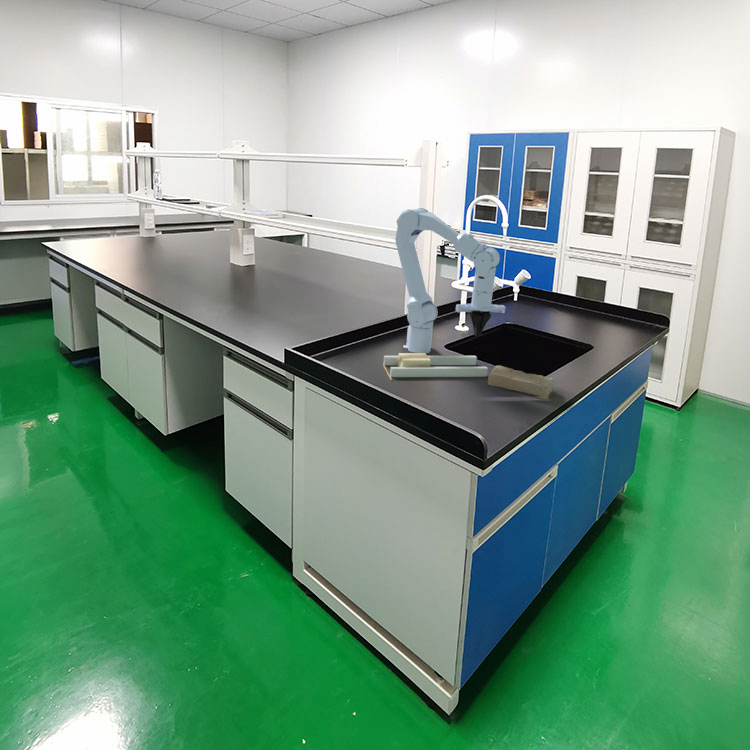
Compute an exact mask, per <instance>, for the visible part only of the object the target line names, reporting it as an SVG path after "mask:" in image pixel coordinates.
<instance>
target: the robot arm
mask: <svg viewBox="0 0 750 750" xmlns="http://www.w3.org/2000/svg"><path fill="white" fill-rule="evenodd" d="M396 224H397V229H396V235H395V239H394V240H395V245H396V246H395V247H396V248H397V254H398V257H399V260H400V264H401V268H402V269H401V270H402V272H403V276H404V281H405V284H406V288H407V292H408V297H409V298H408V301H407V303H406V307H407V313H406V314H407V315H406V317H407V318H406V319H407V322H408V324H409V325H408V326H407V330H406V331H407V332H406V333H407V334H406V344H404V345H402V346H403V348H404V349H407V350H408V351H409V353H425V354H429V353H431V351H432V350H431V349H432V340H433V339H432V338H433V333H434V331H433V329H434V321H435V320H436V319H437V316H438V314H439V312H438V307H437V305H436V304H435V303H434V301H433V298H432V296H431V295H430V294H429V293H428V292H427V288H426V285H425V282H424V277H423V273H422V268H421V265H420V261H419V257H418V254H417V249H416V245H415V242H416V240H417V239H418V237H419V236H420V234H421V233H422V232H424V231H432V232H433V233H435V234H437V235H438V236H440V237H441V238H442V239H443V238H444V239H445V240H446V241H448V242H449V243H451V244H453V246H454V247H453V248H454V251H456V252H457V253H459V254H460V255H462V257H464V258H466V259H467V260H469V261H470V262H472V264H473V266H474V268H475V270H474V271H475V272H474V278H473V287H472V295H471V303H463V304H462V303H461V304H459V303H458V304H456V305H455V312H457V313H469V316H470V319H471V322H472V327H473V335H474V337H478V338H479V337H481V336H482V333H483V331H484V328H485V327H486V325H487V323H488V322H489V321H490V319H491V316H492V314H491V313H501V314H505V312H506V306H505V305H504V304H493V303H492V301H493V300H492V299H493V292H494V287H495V286H494V285H495V278H496V271H497V266H498V265H499V263H500V261H501V257H500V253H499V252H498V250H496V248H495V247H488V245H487V243H482V242H481V241H479V240H477V239H476V238H475V235H474V234H473V233H467V232H465V233H462V234H460V233H459V232H458V231H457V230H455V229H454V228H453V227H451V226H450V225H449V224H447V223H446V222H444V220H442V219H441V218H439V217H438V216H436V215H435V213H434V212H432V211H429V210H428V209H426V208H424V207H420V208H414V209H413V208H412V209H410V208H409V209H405V210H403V211H402V212H401V213H400V215H399V216H398V217H397V219H396Z"/></svg>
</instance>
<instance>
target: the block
mask: <svg viewBox="0 0 750 750" xmlns="http://www.w3.org/2000/svg"><path fill="white" fill-rule="evenodd" d="M397 356H398V365H396V367H431V365H430V362H431V360H430V359H429V357H428V356H429V355H427V353H413V352H409V353H408V352H406V353H405V352H404V353H403V352H402V353H400V352H398V355H397Z"/></svg>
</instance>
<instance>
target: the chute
mask: <svg viewBox="0 0 750 750" xmlns="http://www.w3.org/2000/svg"><path fill="white" fill-rule="evenodd" d="M427 356H428V357H429V359H430V360H431V362H430V367H398V366H397V365H398V355H384V356H383V363H382V367H383V369H384V371H386V374H387V376H388V377H389V379H390V381H391V382H392V381H393V378H427V377H428V378H438V377H439V378H440V377H441V378H445V377H446V378H449V377H450V378H455V377H456V378H457V377H458V378H460V377H461V378H463V377H464V378H465V377H468V378H469V377H473V378H474V377H483V378H484V377H488V371H489V370H488V369H489V368H488V367H487V366H476V365H477V359H478V357H477V356H476V355H427ZM386 366H390V367H389V368H390V369H389V370H387V368H386Z"/></svg>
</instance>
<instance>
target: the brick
mask: <svg viewBox="0 0 750 750" xmlns="http://www.w3.org/2000/svg"><path fill="white" fill-rule="evenodd" d="M487 377H488V378H487V384H488V385H489V386H492V387H497V388H502V389H505V390H509V391H510V390H511V391H517V392H520V393H525V394H529V396H530V398H533V397H534V399H540V400H544V399H547V398H548V399H549V397H550V395H551V394H552V393H553V389H554V378H553V377H549V376H544V375H540V374H536V373H526V372H524V371H522V370H515V369H514V368H509V367H507V366H503V365H496V366H494V368H492V370H491V371H490V373H489V374H488V376H487ZM551 392H552V393H551ZM550 393H551V394H550ZM549 394H550V395H549ZM548 396H549V397H548ZM548 399H547V400H548Z"/></svg>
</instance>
